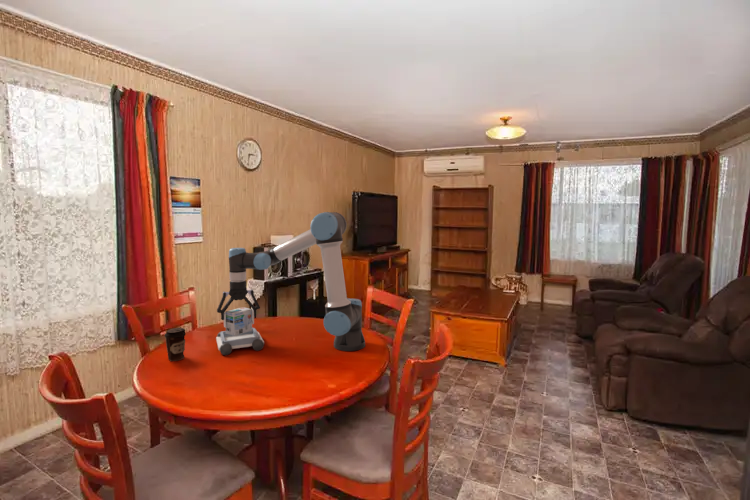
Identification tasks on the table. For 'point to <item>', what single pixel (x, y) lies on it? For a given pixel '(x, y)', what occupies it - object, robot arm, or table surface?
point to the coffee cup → (175, 343)
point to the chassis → (239, 341)
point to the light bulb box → (238, 321)
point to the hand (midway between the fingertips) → (239, 324)
